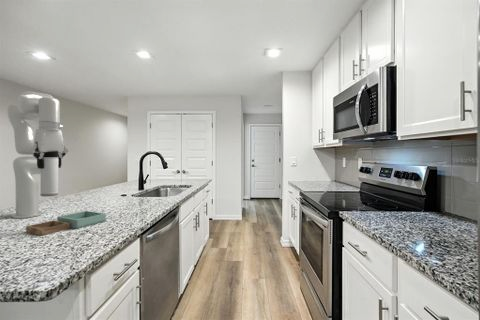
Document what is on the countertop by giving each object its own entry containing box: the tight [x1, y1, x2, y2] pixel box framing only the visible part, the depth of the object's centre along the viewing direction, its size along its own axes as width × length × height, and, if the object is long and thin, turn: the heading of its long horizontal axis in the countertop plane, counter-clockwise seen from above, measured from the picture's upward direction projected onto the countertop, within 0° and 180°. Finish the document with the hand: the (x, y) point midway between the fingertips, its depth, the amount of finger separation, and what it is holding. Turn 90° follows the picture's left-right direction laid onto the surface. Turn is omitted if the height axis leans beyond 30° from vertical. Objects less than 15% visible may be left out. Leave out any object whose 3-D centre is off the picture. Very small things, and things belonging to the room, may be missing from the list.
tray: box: [56, 210, 107, 230], centre depth 126 cm, size 14×14×4 cm
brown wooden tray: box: [25, 219, 70, 236], centre depth 114 cm, size 11×11×2 cm
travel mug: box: [39, 151, 59, 197], centre depth 114 cm, size 6×7×20 cm
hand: (49, 167), depth 114 cm, fingers closed on travel mug, 6 cm apart
